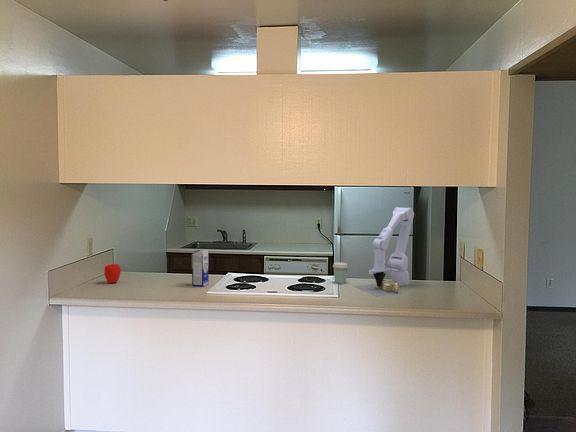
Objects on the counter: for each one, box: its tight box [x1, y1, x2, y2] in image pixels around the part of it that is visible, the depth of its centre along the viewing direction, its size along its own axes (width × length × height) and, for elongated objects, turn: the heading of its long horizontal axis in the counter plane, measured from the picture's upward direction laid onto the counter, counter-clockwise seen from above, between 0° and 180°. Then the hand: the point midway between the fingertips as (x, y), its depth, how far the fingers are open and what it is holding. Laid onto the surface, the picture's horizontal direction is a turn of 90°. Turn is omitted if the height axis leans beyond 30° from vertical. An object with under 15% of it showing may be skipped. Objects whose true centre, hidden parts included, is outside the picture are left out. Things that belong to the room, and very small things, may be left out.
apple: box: [103, 263, 122, 284], centre depth 257 cm, size 9×9×11 cm
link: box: [381, 279, 394, 292], centre depth 241 cm, size 16×4×3 cm, turn 6°
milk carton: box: [191, 249, 210, 288], centre depth 251 cm, size 7×7×20 cm
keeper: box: [388, 280, 399, 295], centre depth 233 cm, size 6×2×5 cm, turn 15°
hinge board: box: [353, 283, 407, 297], centre depth 239 cm, size 18×24×1 cm
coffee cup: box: [332, 261, 349, 285], centre depth 255 cm, size 8×8×12 cm
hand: (378, 286), depth 241 cm, fingers closed
